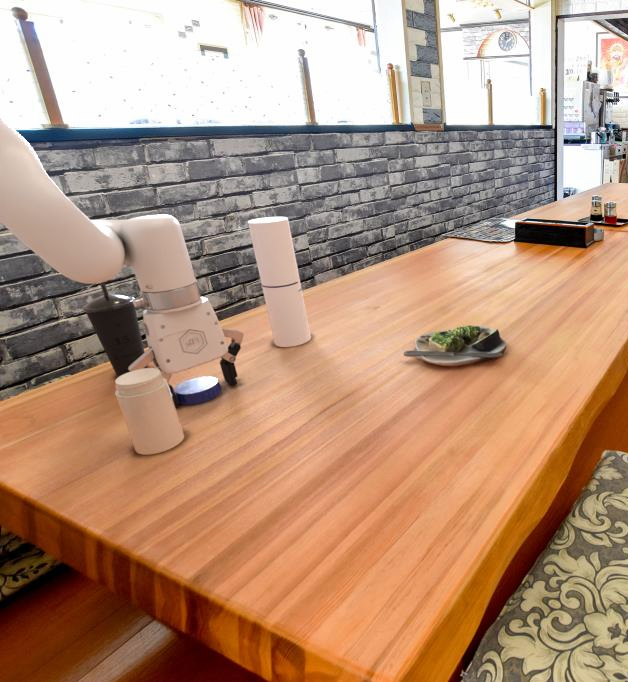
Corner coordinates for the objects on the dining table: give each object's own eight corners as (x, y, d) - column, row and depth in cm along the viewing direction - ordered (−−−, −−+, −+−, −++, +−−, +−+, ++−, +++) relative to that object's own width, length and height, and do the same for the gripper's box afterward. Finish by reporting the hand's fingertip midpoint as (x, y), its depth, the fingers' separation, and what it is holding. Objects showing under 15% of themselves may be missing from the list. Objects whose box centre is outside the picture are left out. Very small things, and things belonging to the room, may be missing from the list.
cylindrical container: (266, 344, 109) (239, 222, 100) (291, 332, 115) (267, 216, 106) (294, 348, 107) (268, 223, 97) (318, 336, 113) (296, 217, 103)
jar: (130, 458, 72) (105, 389, 68) (141, 436, 77) (118, 371, 73) (180, 448, 74) (158, 380, 70) (187, 427, 79) (167, 363, 75)
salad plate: (411, 380, 91) (408, 356, 90) (397, 343, 107) (394, 322, 105) (516, 362, 97) (516, 339, 95) (489, 330, 113) (487, 309, 111)
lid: (219, 400, 87) (216, 389, 86) (173, 408, 85) (169, 397, 84) (223, 383, 93) (220, 373, 92) (180, 391, 91) (177, 380, 90)
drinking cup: (100, 375, 97) (61, 270, 90) (145, 360, 103) (113, 260, 96) (118, 385, 93) (79, 275, 86) (164, 369, 99) (131, 265, 92)
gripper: (117, 318, 74) (155, 423, 81) (239, 285, 86) (263, 379, 93) (99, 308, 79) (137, 409, 85) (218, 279, 91) (242, 369, 98)
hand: (203, 393), depth 89 cm, fingers open, 9 cm apart
